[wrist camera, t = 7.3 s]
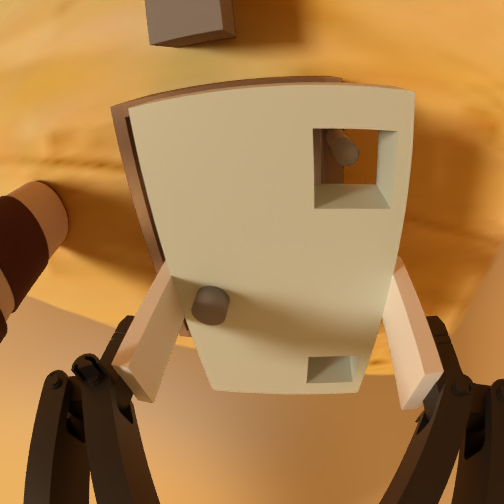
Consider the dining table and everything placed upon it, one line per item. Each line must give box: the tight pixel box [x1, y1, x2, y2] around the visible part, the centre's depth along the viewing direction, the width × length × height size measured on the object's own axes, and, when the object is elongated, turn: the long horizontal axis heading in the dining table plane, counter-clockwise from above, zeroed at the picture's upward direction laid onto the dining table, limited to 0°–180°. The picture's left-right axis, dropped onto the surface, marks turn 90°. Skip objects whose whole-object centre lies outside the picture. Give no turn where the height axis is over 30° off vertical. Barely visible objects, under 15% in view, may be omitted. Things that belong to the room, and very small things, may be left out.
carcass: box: [110, 76, 359, 337], centre depth 18 cm, size 18×12×8 cm
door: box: [128, 82, 415, 394], centre depth 14 cm, size 18×10×4 cm, turn 6°
